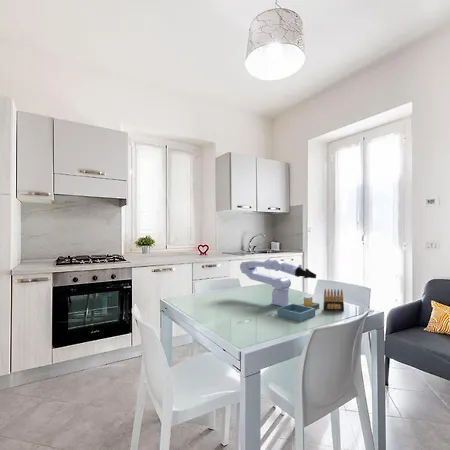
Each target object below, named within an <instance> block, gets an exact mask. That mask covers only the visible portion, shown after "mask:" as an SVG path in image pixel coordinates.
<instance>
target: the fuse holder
mask: <svg viewBox="0 0 450 450" xmlns="http://www.w3.org/2000/svg"><path fill="white" fill-rule="evenodd" d="M300 305H302V306H305V305H304V303H301V304H300ZM307 307H311V308H315V310H317V308H318V309H320V303H318V302H315V301H312V305H311V306H307Z"/></svg>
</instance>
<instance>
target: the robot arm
mask: <svg viewBox="0 0 450 450" xmlns="http://www.w3.org/2000/svg"><path fill="white" fill-rule="evenodd" d="M258 267H259V268H264V269H265V270H271V271H272V270H273V271H275V272H278V271H280V272H283V273H284V274H285V273H286V274H289V275H291V276H295V277H297V278H300V277H303V279H309V278H310V279H316V278H317V274H316V273H314V272H312V271H311V270H310V269H309V268H305V269H304V268H303V266H302V264H298V265H295V264H292V263H289V262H285V261H284V260H277V259H274V260H271V258H269V259H266V260H264V261H260V260H251V261H246V262H245V261H243V262H241V263H240V264H239V269H240V271H241V273H242V274H244V275H245V276H246V277H248V279H250V280H252V281H256V282H260V283H263V284H267V285H271V287H273V288H274V289H272V293H271V304H272V305H276V306H280V307H283V306H286V305H289V304H292V303H291V302H289V299H290V298H289V297H290V296H289V290H290V287H291V285H292V282H291V279H290V278H289V277H286V276H285V277H275V276H271V275H267V274H264V273H259V272H258V271H257V268H258ZM271 304H270V305H271Z"/></svg>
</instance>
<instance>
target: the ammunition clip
mask: <svg viewBox="0 0 450 450" xmlns="http://www.w3.org/2000/svg"><path fill="white" fill-rule="evenodd" d="M344 304H345V303H344V292H343V289H342V288H341V289H337V290H336V289H332V288H331V290H330V288H328V289H326V288H325V289H324V292H323V311H324V312H345V305H344Z"/></svg>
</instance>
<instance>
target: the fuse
mask: <svg viewBox="0 0 450 450" xmlns="http://www.w3.org/2000/svg"><path fill="white" fill-rule="evenodd" d="M312 302H313V296H310V295H305V296H304V297H303V304H304V305H305V306H311V305H312Z"/></svg>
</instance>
